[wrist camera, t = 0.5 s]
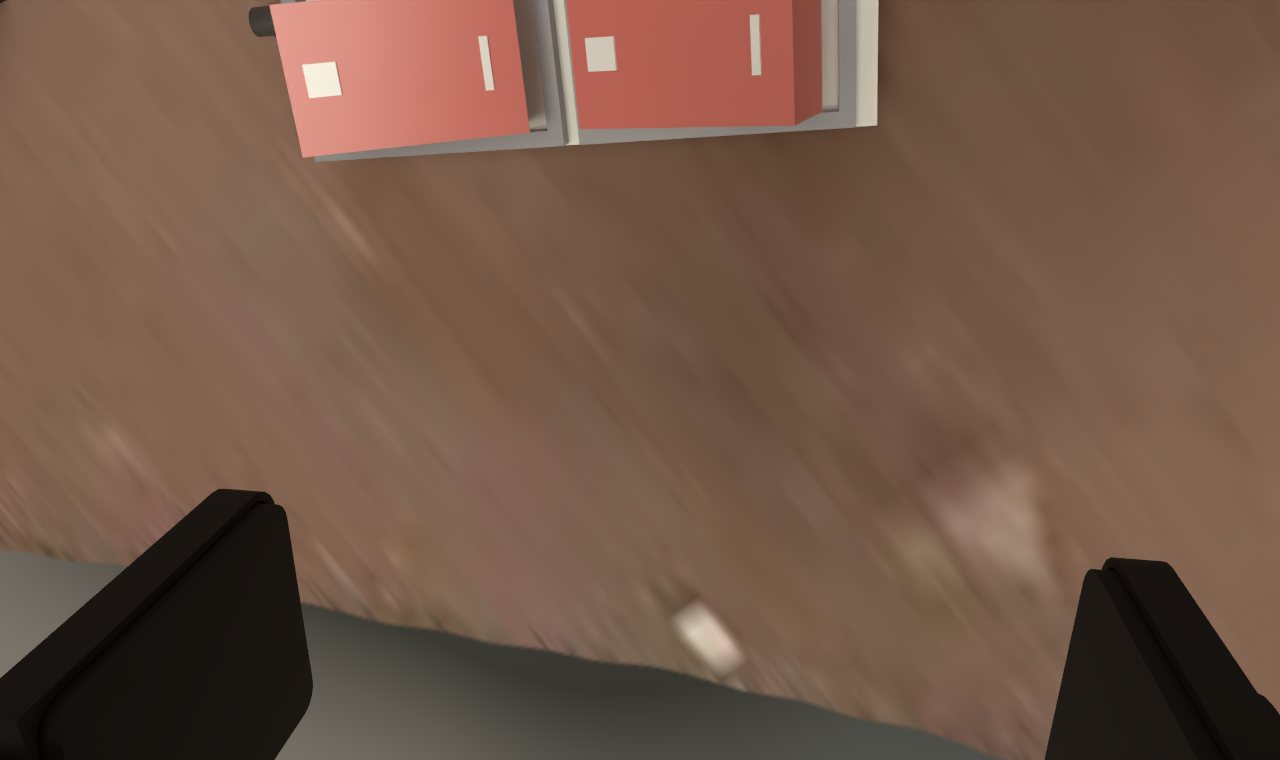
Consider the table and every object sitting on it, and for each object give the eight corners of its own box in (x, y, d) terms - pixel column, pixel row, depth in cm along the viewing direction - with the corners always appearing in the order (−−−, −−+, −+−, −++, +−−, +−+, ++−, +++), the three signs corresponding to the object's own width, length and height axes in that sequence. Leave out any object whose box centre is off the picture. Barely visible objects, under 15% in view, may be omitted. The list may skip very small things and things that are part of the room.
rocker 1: (286, 4, 34) (268, 4, 31) (508, -16, 35) (510, -18, 32) (316, 145, 36) (302, 157, 33) (525, 122, 37) (530, 133, 34)
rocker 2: (606, -26, 34) (561, -22, 32) (820, -47, 31) (789, -46, 28) (619, 116, 36) (578, 129, 34) (822, 111, 33) (793, 125, 30)
